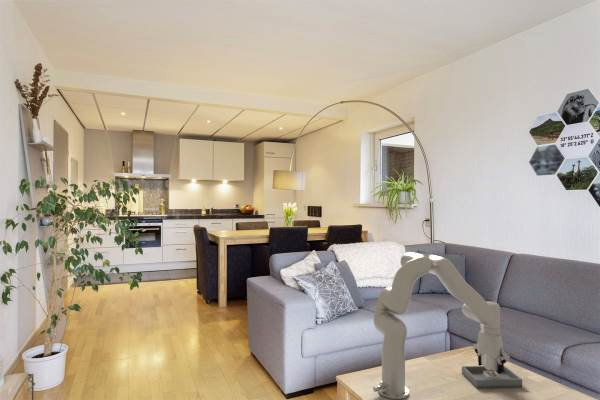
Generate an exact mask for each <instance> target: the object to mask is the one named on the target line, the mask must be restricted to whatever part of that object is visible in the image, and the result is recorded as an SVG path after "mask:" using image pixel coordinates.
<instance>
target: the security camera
mask: <svg viewBox="0 0 600 400" xmlns="http://www.w3.org/2000/svg"><path fill="white" fill-rule="evenodd" d="M499 359H500V361H501V358H499ZM481 364H482V365H481V366H484V367H485V368H486V369H487V371H483V374H484V375H485V376H486V378H487V379H500V376H499V374H498V373H497V372H496V370H497V365H498V364H499V363H498V361H497V360H496V359H493V358H491V357H490V355H488V354H484V355H483V354H481ZM490 370H493V371H490Z"/></svg>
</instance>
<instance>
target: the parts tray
mask: <svg viewBox="0 0 600 400" xmlns="http://www.w3.org/2000/svg"><path fill="white" fill-rule="evenodd" d="M483 371H487V369H486V368H485V367H484V366H483V365H480V366H479V365H463V366H461V375H462V376H463V377H464V378H466V379H467V381H468V382H470V384H472V386H473V387H474V388H475V389H512V388H513V389H517V388H521V389H522V388H523V378H521V377H520V376H518V375H517V374H516V373H514V371H512V370H510V369H509V368H508V367H507V366H506V365H504V371H503V373H500V374H499V373H498V372H497V370H496V372H497V373H498V374H499V376H500V379H487V378H486V376H485V375H484V374H483ZM490 371H493V370H490Z"/></svg>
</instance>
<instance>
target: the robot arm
mask: <svg viewBox="0 0 600 400" xmlns="http://www.w3.org/2000/svg"><path fill="white" fill-rule="evenodd" d="M400 265H401V267H399V268H398V270H397V271H396V273H395V274H394V277H393V281H392V284H391V286H388V287H385V288H383V289H382V290H381V291H380V292H379V295H378V297H377V302H376V306H375V311H374V316H373V325H374V327H375V329H376V330H377V331H378V333H380V334H382V335H383V341H382V343H381V381H379V384H378V385H375V386H373V387H372V390H373V392H378V394H379V395H381V396H383V397H385V398H387V399H391V400H403V399H406V398H407V397H409V395H410V389H409V388H408V387H407V386H406V341H407V337H408V336H407V335H408V328H407V326H406V324H405V322H404V321H403V320H402V319H401V318H399V317H398V316H396V315H404V314H406V313H407V312H408V311H409V307H410V304H411V303H410V302H411V298H412V294H413V289H414V286H415V283H416V281H417V280H418V279H419V278H421V277H422V276H425V275H426V274H432V275H434V276H436V277H437V278H438V279H439V281H440V283H442V285H443V287H445V289H446V290H447V292H448V293H449V294H450V295H451V296H453V297H454V298H455V299H457V300H459V301H460V302H461V303H463V304H462V306H461V311H462V314H463V315H464V316H466V318H469V319H471V320H473V321H475V322H478V323H480V324H479V325H478V326H479V328H480V330H479V332H478V336H477V343H472V347H473V349H474V352H475V353H476V356H477V362H478V363H477V364H478V365H477V366H483V365H482V364H481V354H483V355H484V354H488V355H490V357H491V358H493V359H496V360H497V361H498V363H499V364H498V365H497V372H498V373H499V374H500V373H503V371H504V366H505V364H506V363H507V362H508V361H509V360H510V357H511V356H510V355H509V354H508V353H507V352H506V351H504V343H503V338H502V334H501V307H500V304H499V303H498V302H495V301H490V300H489V301H487V300H486V299H485V298H484V297H483V296H482V295H481V294H480V293H479V292H478V291H476V290H475V289H474V288H473V286H472V285H470V284H469V283H467V282H466V280H465V279H464V277H463V275H461V273H460V272H459V270H457V268H456V266H454V263H452V262H451V260H450V259H448V258H446V257H443V256H439V255H437V254H436V255H435V254H427V253H419V252H411V251H408V252H406V253H404V254H403V255H401V257H400ZM499 358H501V361H500V359H499Z"/></svg>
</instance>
